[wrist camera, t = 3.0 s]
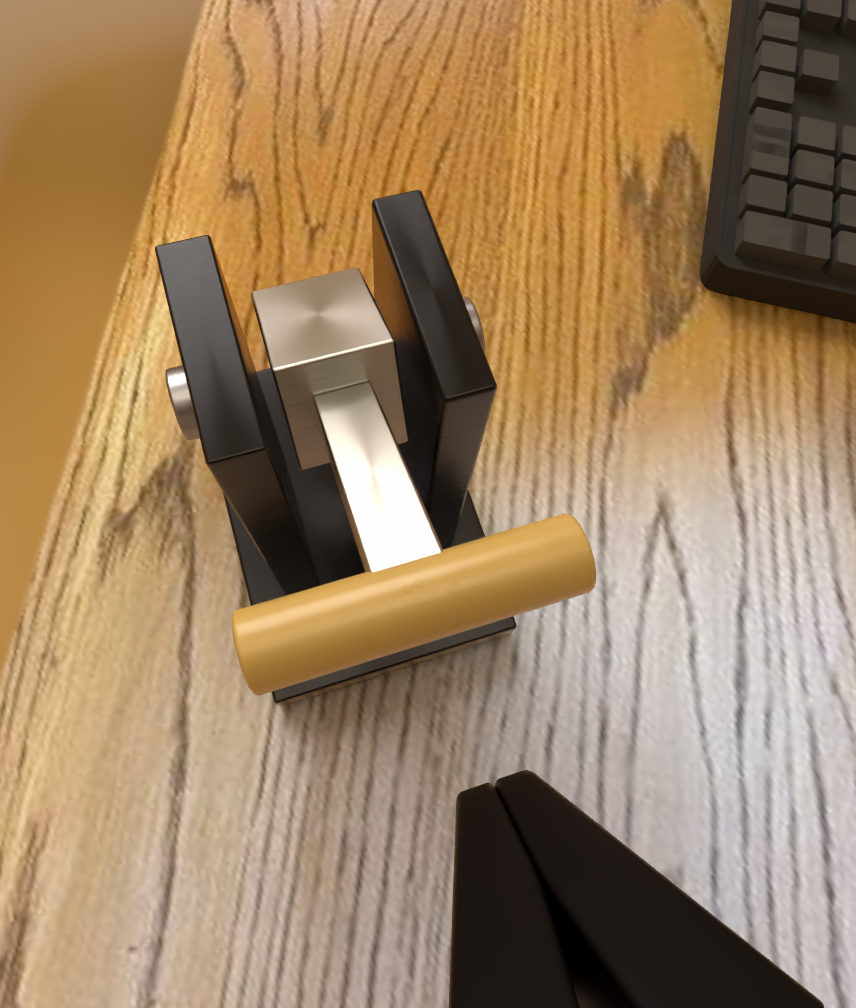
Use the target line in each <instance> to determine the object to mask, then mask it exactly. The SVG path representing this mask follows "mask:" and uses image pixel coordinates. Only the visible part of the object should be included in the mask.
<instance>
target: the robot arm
mask: <svg viewBox="0 0 856 1008" xmlns="http://www.w3.org/2000/svg"><path fill="white" fill-rule="evenodd" d="M449 1008H824V1005H823V1003H822V1002H821V1001H820V1000H819V999H818V998H816V997H815V996H814V995H813V994H811V993H810V992H809V991H808V990H806V989H805V988H804V987H803V986H801V985H800V984H799V983H798V982H796V981H795V980H794V979H793V978H791V977H790V976H789V975H788V974H786V973H785V972H784V971H783V970H781V969H780V968H779V967H778V966H776V965H775V964H774V963H772V962H771V961H770V960H769V959H767V958H766V957H765V956H764V955H762V954H761V953H760V952H759V951H757V950H756V949H755V948H754V947H752V946H751V945H750V944H749V943H747V942H746V941H745V940H744V939H742V938H741V937H740V936H739V935H737V934H736V933H735V932H734V931H732V930H731V929H730V928H728V927H727V926H726V925H725V924H723V923H722V922H721V921H720V920H718V919H717V918H716V917H715V916H713V915H712V914H711V913H710V912H708V911H707V910H706V909H705V908H703V907H702V906H701V905H700V904H698V903H697V902H696V901H695V900H693V899H692V898H691V897H690V896H688V895H687V894H686V893H684V892H683V891H682V890H681V889H679V888H678V887H677V886H676V885H674V884H673V883H672V882H671V881H669V880H668V879H667V878H666V877H664V876H663V875H662V874H661V873H659V872H658V871H657V870H656V869H654V868H653V867H652V866H651V865H649V864H648V863H647V862H646V861H644V860H643V859H642V858H640V857H639V856H638V855H637V854H635V853H634V852H633V851H632V850H630V849H629V848H628V847H627V846H625V845H624V844H623V843H622V842H620V841H619V840H618V839H617V838H615V837H614V836H613V835H612V834H610V833H609V832H608V831H607V830H605V829H604V828H603V827H602V826H600V825H599V824H598V823H596V822H595V821H594V820H593V819H591V818H590V817H589V816H588V815H586V814H585V813H584V812H583V811H581V810H580V809H579V808H578V807H576V806H575V805H574V804H573V803H571V802H570V801H569V800H568V799H566V798H565V797H564V796H563V795H561V794H560V793H559V792H558V791H556V790H555V789H554V788H553V787H551V786H550V785H549V784H547V783H546V782H545V781H544V780H542V779H541V778H540V777H539V776H537V775H536V774H535V773H533V772H531V771H528V770H524V771H520V772H517V773H514V774H512V775H509V776H506V777H503V778H500V779H498V780H497V781H496V783H495V787H494V786H493V785H492V784H490V783H485V784H482V785H480V786H477V787H474V788H471V789H468V790H465V791H462V792H460V793H459V794H458V796H457V801H456V826H455V854H454V881H453V909H452V936H451V963H450V990H449Z"/></svg>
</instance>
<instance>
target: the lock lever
mask: <svg viewBox="0 0 856 1008" xmlns="http://www.w3.org/2000/svg"><path fill="white" fill-rule="evenodd" d="M251 298H252V301H253V305H254V308H255V312H256V316H257V319H258V323H259V327H260V330H261V334H262V338H263V341H264V345H265V349H266V352H267V356H268V359H269V363H270V367H271V370H272V374H273V377H274V381H275V384H276V388H277V391H278V395H279V398H280V401H281V405H282V408H283V412H284V415H285V419H286V422H287V426H288V429H289V432H290V436H291V439H292V443H293V446H294V450H295V453H296V456H297V460H298V463H299V467H300V468H301V470H305V469H308V468H312V467H316V466H319V465H323V464H327V463H330V464H331V467H332V470H333V473H334V476H335V479H336V483H337V486H338V489H339V492H340V495H341V498H342V501H343V504H344V507H345V511H346V514H347V517H348V520H349V523H350V526H351V529H352V532H353V535H354V539H355V542H356V545H357V548H358V551H359V554H360V557H361V560H362V563H363V566H364V570H365V573H361V574H358V575H354V576H351V577H348V578H344V579H341V580H337V581H334V582H331V583H327V584H324V585H320V586H317V587H314V588H310V589H307V590H303V591H300V592H297V593H293V594H290V595H286V596H283V597H280V598H276V599H273V600H269V601H266V602H263V603H259V604H256V605H252V606H249V607H246V608H242V609H239V610H236V611H235V612H234V613H233V615H232V631H233V637H234V642H235V647H236V651H237V655H238V659H239V662H240V666H241V669H242V672H243V675H244V677H245V680H246V682H247V684H248V687H249V688H250V690H251V691H252V693H253V694H254V695H262V694H265V693H269V692H272V691H275V690H278V689H281V688H285V687H288V686H291V685H294V684H297V683H301V682H304V681H307V680H310V679H313V678H317V677H320V676H323V675H326V674H329V673H333V672H336V671H339V670H342V669H345V668H349V667H352V666H355V665H358V664H361V663H365V662H368V661H371V660H374V659H377V658H381V657H384V656H387V655H390V654H393V653H397V652H400V651H403V650H406V649H409V648H413V647H416V646H419V645H422V644H425V643H429V642H432V641H435V640H438V639H441V638H445V637H448V636H451V635H454V634H457V633H461V632H464V631H467V630H470V629H474V628H477V627H480V626H483V625H486V624H490V623H493V622H496V621H499V620H502V619H506V618H509V617H512V616H515V615H518V614H522V613H525V612H528V611H531V610H534V609H538V608H541V607H544V606H547V605H550V604H554V603H557V602H560V601H563V600H566V599H570V598H573V597H576V596H579V595H582V594H586V593H589V592H590V591H591V590H592V589H593V588H594V587H595V583H596V569H595V562H594V557H593V553H592V550H591V547H590V544H589V542H588V539H587V537H586V535H585V533H584V531H583V529H582V528H581V526H580V524H579V523H578V522H577V520H576V519H575V518H574V517H572V516H571V515H568V514H562V515H559V516H555V517H552V518H548V519H545V520H542V521H538V522H535V523H531V524H528V525H525V526H521V527H518V528H514V529H511V530H508V531H504V532H501V533H497V534H494V535H490V536H487V537H484V538H480V539H477V540H473V541H470V542H467V543H463V544H460V545H456V546H453V547H450V548H446V549H442V546H441V544H440V542H439V539H438V537H437V535H436V532H435V530H434V528H433V525H432V523H431V521H430V518H429V516H428V514H427V511H426V509H425V507H424V504H423V502H422V500H421V497H420V495H419V493H418V490H417V488H416V486H415V483H414V481H413V479H412V476H411V474H410V472H409V469H408V467H407V465H406V462H405V460H404V458H403V455H402V453H401V451H400V448H399V446H398V444H401V443H405V442H407V441H408V431H407V424H406V417H405V409H404V402H403V395H402V388H401V380H400V373H399V366H398V358H397V351H396V344H395V340H394V338H393V336H392V334H391V332H390V330H389V328H388V326H387V324H386V322H385V320H384V318H383V316H382V314H381V312H380V310H379V308H378V306H377V304H376V302H375V300H374V298H373V296H372V294H371V292H370V290H369V288H368V286H367V284H366V282H365V280H364V278H363V276H362V274H361V272H360V270H359V268H352V269H348V270H343V271H339V272H335V273H330V274H326V275H322V276H318V277H313V278H309V279H305V280H300V281H296V282H292V283H287V284H283V285H279V286H274V287H270V288H266V289H261V290H257V291H253V292H251Z"/></svg>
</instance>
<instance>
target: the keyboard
mask: <svg viewBox="0 0 856 1008" xmlns="http://www.w3.org/2000/svg"><path fill="white" fill-rule="evenodd" d="M700 273H701V280H702V282H703V284H704V285H705V286H706V287H708V288H709V289H711V290H713V291H716V292H719V293H724V294H729V295H733V296H738V297H742V298H747V299H751V300H756V301H761V302H765V303H770V304H774V305H779V306H783V307H788V308H793V309H797V310H802V311H806V312H811V313H815V314H820V315H825V316H829V317H834V318H838V319H843V320H848V321H852V322H856V0H732V9H731V17H730V25H729V34H728V42H727V51H726V59H725V67H724V76H723V84H722V93H721V101H720V109H719V118H718V126H717V135H716V143H715V151H714V160H713V168H712V177H711V185H710V193H709V202H708V210H707V219H706V227H705V235H704V244H703V252H702V261H701V269H700Z"/></svg>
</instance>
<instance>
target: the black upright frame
mask: <svg viewBox="0 0 856 1008" xmlns="http://www.w3.org/2000/svg"><path fill="white" fill-rule="evenodd" d="M372 232H373V264H374V296H375V302H376V304H377V306H378V308H379V310H380V312H381V314H382V316H383V318H384V320H385V322H386V324H387V326H388V328H389V330H390V332H391V334H392V336H393V338H394V340H395V344H396V351H397V358H398V366H399V373H400V380H401V388H402V395H403V402H404V409H405V417H406V424H407V431H408V441H407V442H405V443H401V444H398V446H399V448H400V451H401V453H402V455H403V458H404V460H405V462H406V465H407V467H408V469H409V472H410V474H411V476H412V479H413V481H414V483H415V486H416V488H417V490H418V493H419V495H420V497H421V500H422V502H423V504H424V507H425V509H426V511H427V514H428V516H429V518H430V521H431V523H432V525H433V528H434V530H435V532H436V535H437V537H438V539H439V542H440V544H441V546H442V549H446V548H450V547H453V546H456V545H460V544H463V543H467V542H470V541H473V540H477V539H480V538H484V537H485V535H484V532H483V530H482V527H481V524H480V521H479V518H478V516H477V513H476V510H475V507H474V504H473V501H472V499H471V496H470V493H469V490H468V488H469V484H470V481H471V477H472V474H473V470H474V467H475V463H476V460H477V456H478V453H479V449H480V446H481V442H482V439H483V435H484V432H485V428H486V425H487V421H488V418H489V414H490V411H491V407H492V404H493V400H494V397H495V393H496V390H497V385H496V382H495V379H494V377H493V374H492V372H491V369H490V366H489V364H488V361H487V359H486V356H485V342H484V335H483V330H482V326H481V322H480V319H479V316H478V313H477V310H476V308H475V306H474V304H473V303H472V301H471V300H470V299H469V298H468V297H462V294H461V292H460V289H459V286H458V284H457V281H456V279H455V276H454V273H453V271H452V268H451V266H450V263H449V260H448V258H447V255H446V253H445V250H444V248H443V245H442V242H441V240H440V237H439V235H438V232H437V229H436V227H435V224H434V222H433V219H432V217H431V214H430V211H429V209H428V206H427V204H426V201H425V198H424V196H423V194H422V192H421V191H420V190H414V191H410V192H405V193H401V194H396V195H391V196H387V197H382V198H378V199H375V200H373V201H372ZM155 252H156V256H157V260H158V264H159V269H160V273H161V277H162V281H163V285H164V290H165V294H166V298H167V302H168V306H169V311H170V315H171V319H172V323H173V327H174V332H175V336H176V340H177V344H178V348H179V352H180V357H181V361H182V365H181V366H177V367H173V368H169V369H167V370H166V383H167V388H168V392H169V396H170V400H171V403H172V406H173V409H174V412H175V415H176V418H177V421H178V423H179V426H180V428H181V430H182V432H183V434H184V436H185V437H186V438H187V439H188V440H194V439H198V438H200V440H201V445H202V449H203V453H204V457H205V461H206V464H207V466H208V467H209V469H210V471H211V472H212V474H213V476H214V477H215V479H216V481H217V482H218V484H219V485H220V487H221V489H222V490H223V494H224V498H225V502H226V506H227V510H228V514H229V518H230V523H231V527H232V531H233V535H234V539H235V543H236V547H237V551H238V555H239V560H240V564H241V568H242V572H243V576H244V580H245V584H246V588H247V592H248V597H249V601H250V605H251V606H252V605H256V604H259V603H263V602H266V601H269V600H273V599H276V598H280V597H283V596H286V595H290V594H293V593H297V592H300V591H303V590H307V589H310V588H314V587H317V586H320V585H324V584H327V583H331V582H334V581H337V580H341V579H344V578H348V577H351V576H354V575H358V574H361V573H365V570H364V566H363V563H362V560H361V557H360V554H359V551H358V548H357V545H356V542H355V539H354V535H353V532H352V529H351V526H350V523H349V520H348V517H347V514H346V511H345V507H344V504H343V501H342V498H341V495H340V492H339V489H338V486H337V483H336V479H335V476H334V473H333V470H332V467H331V464H330V463H327V464H323V465H319V466H316V467H312V468H308V469H305V470H301V468H300V467H299V463H298V460H297V456H296V453H295V450H294V446H293V443H292V439H291V436H290V432H289V429H288V426H287V422H286V419H285V415H284V412H283V408H282V405H281V401H280V398H279V395H278V391H277V388H276V384H275V381H274V377H273V374H272V370H271V368H270V369H266V370H262V371H258V372H256V370H255V367H254V364H253V361H252V358H251V355H250V352H249V349H248V346H247V343H246V340H245V337H244V334H243V331H242V328H241V326H240V323H239V320H238V317H237V314H236V311H235V308H234V305H233V302H232V299H231V296H230V293H229V290H228V287H227V284H226V281H225V278H224V275H223V272H222V269H221V266H220V263H219V260H218V257H217V255H216V252H215V249H214V246H213V243H212V240H211V237H210V236H209V235H204V236H200V237H195V238H191V239H186V240H181V241H177V242H172V243H168V244H163V245H159V246H156V247H155ZM515 628H516V622H515V620H514V617H513V616H512V617H509V618H506V619H502V620H499V621H496V622H493V623H490V624H486V625H483V626H480V627H477V628H474V629H470V630H467V631H464V632H461V633H457V634H454V635H451V636H448V637H445V638H441V639H438V640H435V641H432V642H429V643H425V644H422V645H419V646H416V647H413V648H409V649H406V650H403V651H400V652H397V653H393V654H390V655H387V656H384V657H381V658H377V659H374V660H371V661H368V662H365V663H361V664H358V665H355V666H352V667H349V668H345V669H342V670H339V671H336V672H333V673H329V674H326V675H323V676H320V677H317V678H313V679H310V680H307V681H304V682H301V683H297V684H294V685H291V686H288V687H285V688H281V689H278V690H275V691H272V695H273V699H274V702H275V703H276V704H278V705H280V706H285V705H288V704H291V703H295V702H298V701H301V700H304V699H307V698H310V697H314V696H317V695H320V694H323V693H326V692H329V691H333V690H336V689H339V688H342V687H345V686H348V685H351V684H355V683H358V682H361V681H364V680H367V679H370V678H374V677H377V676H380V675H383V674H386V673H389V672H393V671H396V670H399V669H402V668H405V667H408V666H412V665H415V664H418V663H421V662H424V661H427V660H431V659H434V658H437V657H440V656H443V655H446V654H450V653H453V652H456V651H459V650H462V649H465V648H469V647H472V646H475V645H478V644H481V643H484V642H488V641H491V640H494V639H497V638H500V637H503V636H507V635H509V634H510V633H511V632H512V631H513V630H514V629H515Z"/></svg>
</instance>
